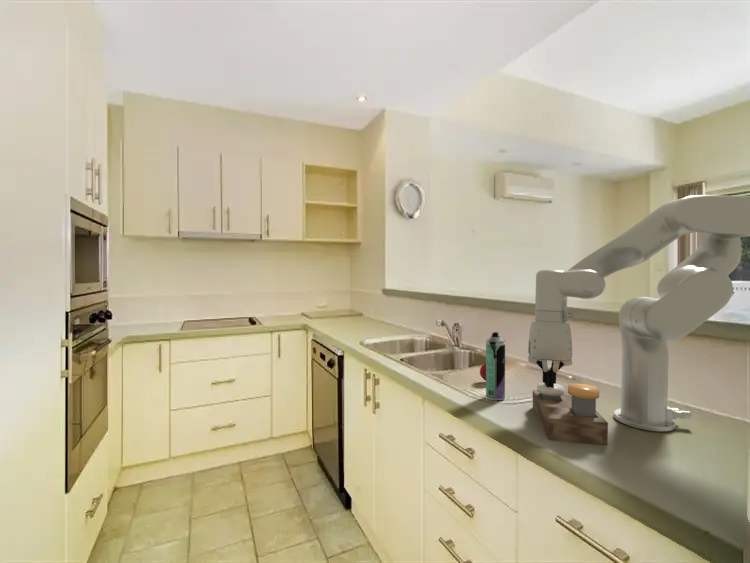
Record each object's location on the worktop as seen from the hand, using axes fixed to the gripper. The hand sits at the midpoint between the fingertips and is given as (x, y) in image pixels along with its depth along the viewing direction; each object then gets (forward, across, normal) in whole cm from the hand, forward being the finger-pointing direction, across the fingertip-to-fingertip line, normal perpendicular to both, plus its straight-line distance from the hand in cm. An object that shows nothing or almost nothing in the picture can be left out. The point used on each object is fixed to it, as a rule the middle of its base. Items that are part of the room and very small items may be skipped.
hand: (549, 385), depth 97 cm
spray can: (+8, +12, -11) cm, 19 cm away
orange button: (+4, -5, +10) cm, 12 cm away
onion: (+8, +14, -26) cm, 30 cm away
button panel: (+8, -3, +5) cm, 10 cm away
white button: (+7, 0, 0) cm, 7 cm away
